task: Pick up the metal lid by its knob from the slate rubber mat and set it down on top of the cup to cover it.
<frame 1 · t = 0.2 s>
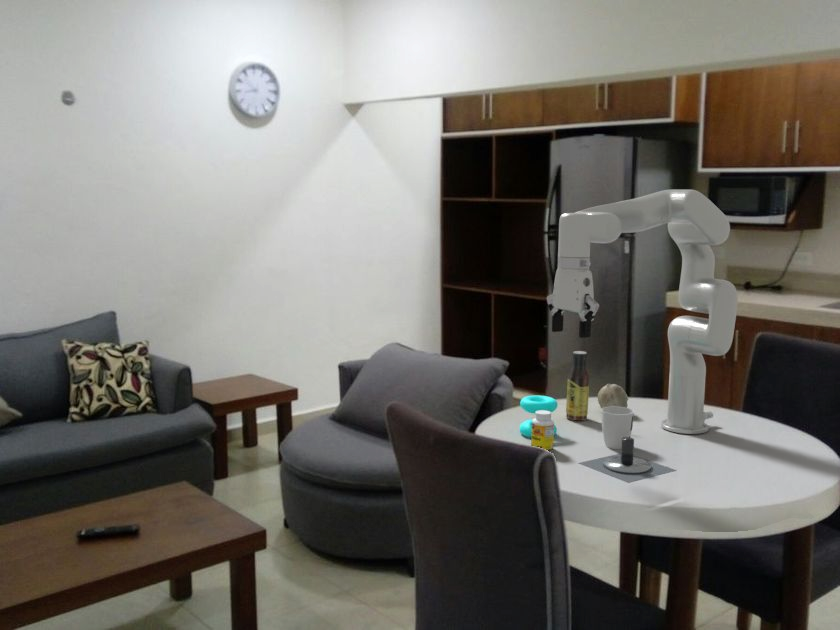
hand: (570, 334, 201), 31 cm above the table, tool pointing down, fingers open, 9 cm apart
sauce bottle: (576, 419, 239), on the table
cup: (616, 449, 211), on the table
supplement bottle: (542, 452, 208), on the table
lid: (626, 466, 195), point 1 cm above the table, touching mat
garlic bulb: (611, 413, 246), on the table
mat: (626, 469, 195), on the table
donuts: (537, 435, 223), on the table
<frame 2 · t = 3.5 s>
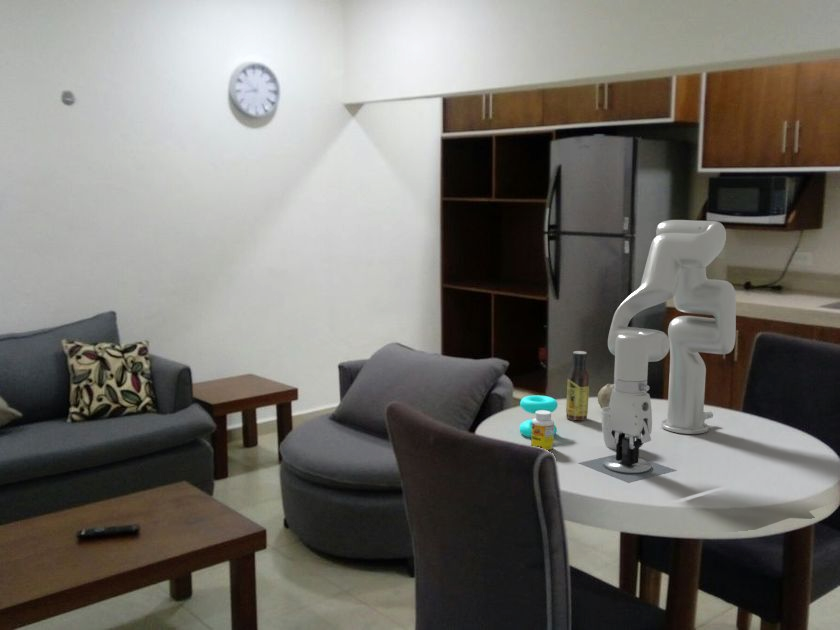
hand: (627, 461, 195), 2 cm above the table, tool pointing down, fingers closed on lid, 2 cm apart
lid: (626, 466, 195), point 1 cm above the table, touching gripper, mat
everything else where it was.
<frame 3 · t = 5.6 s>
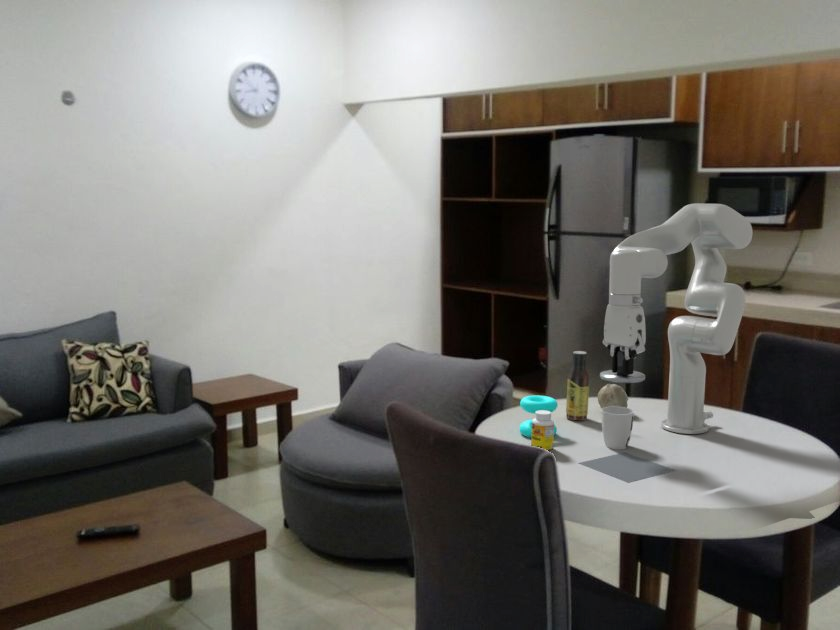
hand: (622, 372, 205), 21 cm above the table, tool pointing down, fingers closed on lid, 2 cm apart
lid: (622, 377, 206), point 19 cm above the table, touching gripper
everything else where it was.
when the fingers open (13 cm above the table, at t = 7.6 s): lid drops 1 cm, resting on cup.
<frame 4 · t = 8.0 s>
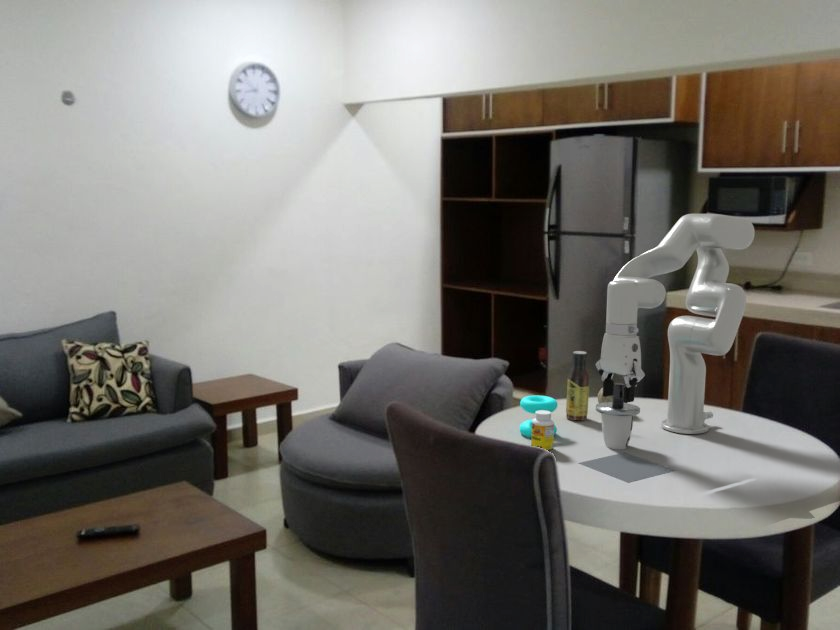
hand: (618, 398, 209), 13 cm above the table, tool pointing down, fingers open, 6 cm apart
cup: (616, 448, 211), on the table, touching lid
lid: (617, 410, 210), point 10 cm above the table, touching cup
everything else where it was.
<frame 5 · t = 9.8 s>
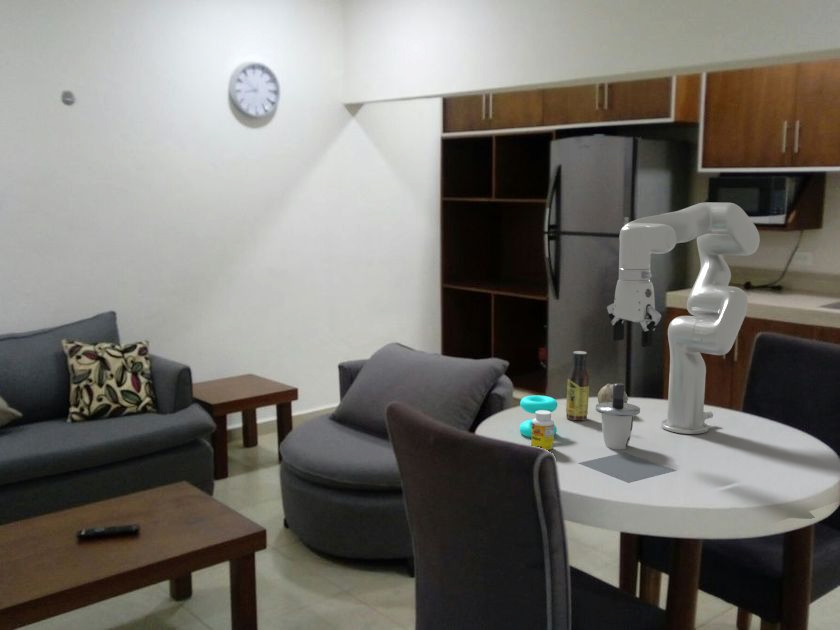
hand: (632, 343, 207), 28 cm above the table, tool pointing down, fingers open, 9 cm apart
nothing on the table moved.
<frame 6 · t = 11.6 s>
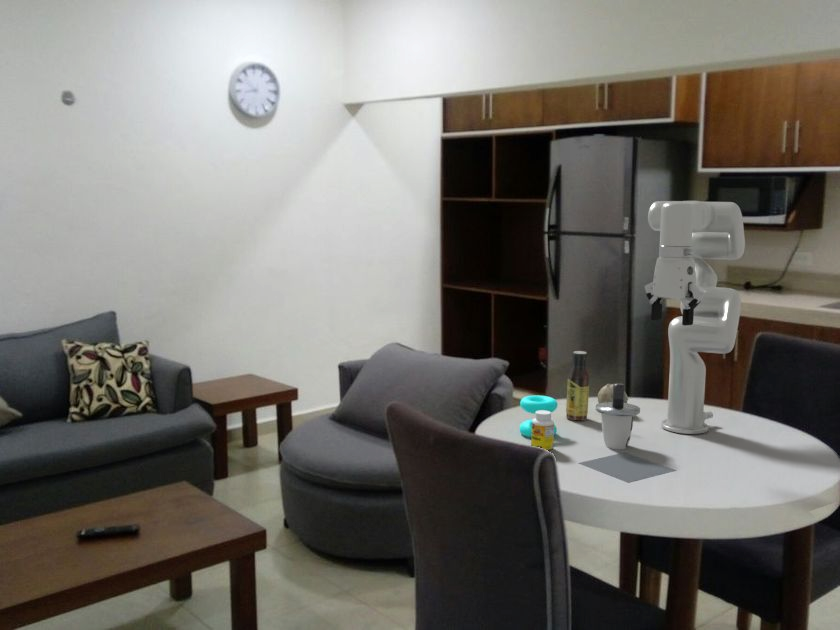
hand: (671, 322, 203), 33 cm above the table, tool pointing down, fingers open, 9 cm apart
nothing on the table moved.
at the end: lid 0.0 cm off-centre on the cup, point 10.2 cm above the cup's base; lid tilted 0°; the gripper is holding nothing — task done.
